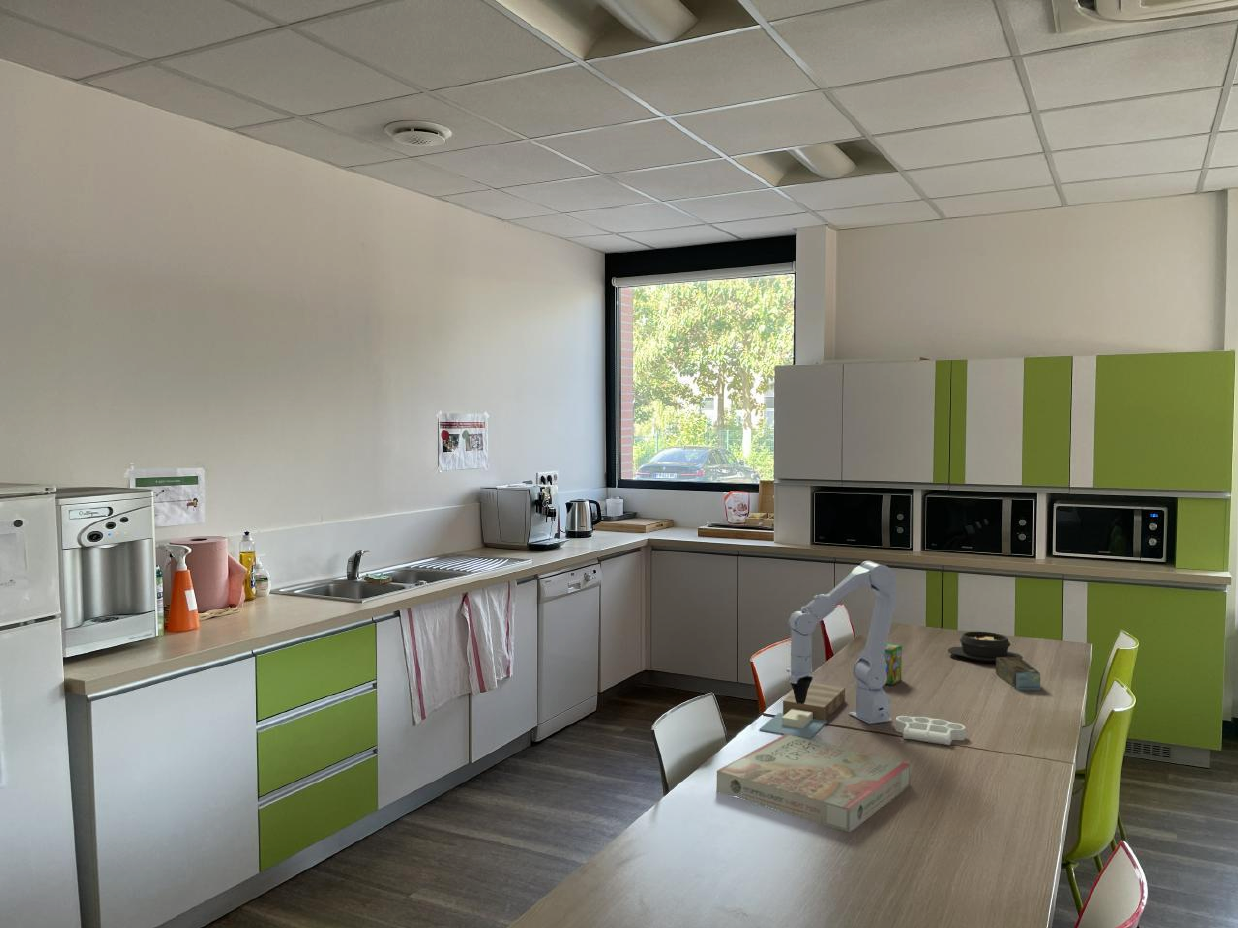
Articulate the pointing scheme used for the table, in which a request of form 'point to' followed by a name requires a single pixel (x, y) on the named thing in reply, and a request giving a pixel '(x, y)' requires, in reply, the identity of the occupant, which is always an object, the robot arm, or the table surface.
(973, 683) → the table surface
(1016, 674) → the beverage carton
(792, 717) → the tile
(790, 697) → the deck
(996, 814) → the table surface
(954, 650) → the casserole
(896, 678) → the chalk box
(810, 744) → the pizza box
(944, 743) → the knuckle duster
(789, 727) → the mat
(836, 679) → the table surface
